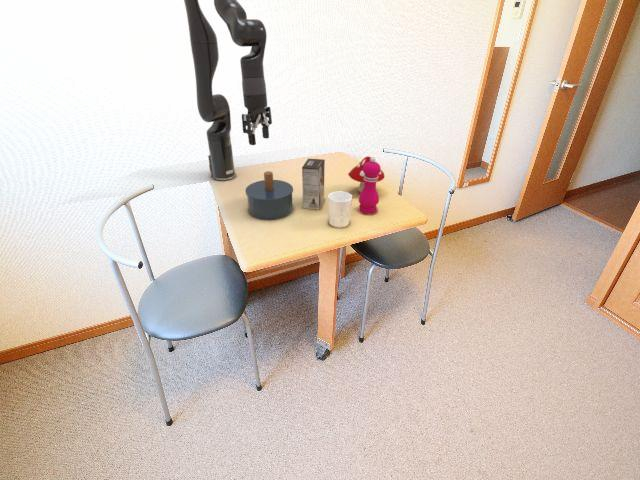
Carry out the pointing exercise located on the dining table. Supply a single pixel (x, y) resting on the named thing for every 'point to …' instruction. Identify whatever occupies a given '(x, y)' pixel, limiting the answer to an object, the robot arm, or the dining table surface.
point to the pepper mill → (369, 188)
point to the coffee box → (313, 183)
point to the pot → (270, 208)
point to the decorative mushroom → (362, 173)
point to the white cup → (339, 208)
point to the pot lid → (269, 189)
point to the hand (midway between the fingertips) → (259, 141)
